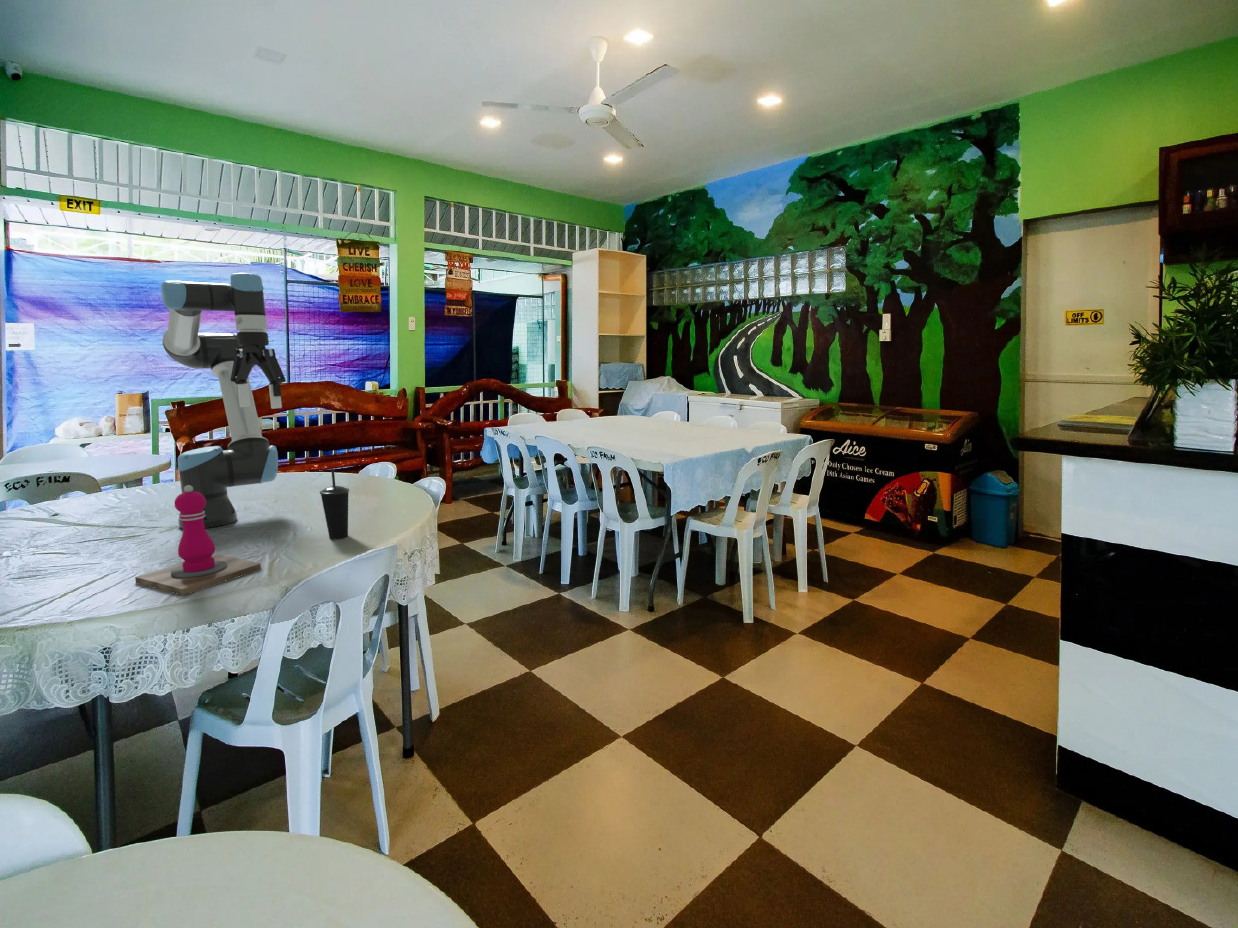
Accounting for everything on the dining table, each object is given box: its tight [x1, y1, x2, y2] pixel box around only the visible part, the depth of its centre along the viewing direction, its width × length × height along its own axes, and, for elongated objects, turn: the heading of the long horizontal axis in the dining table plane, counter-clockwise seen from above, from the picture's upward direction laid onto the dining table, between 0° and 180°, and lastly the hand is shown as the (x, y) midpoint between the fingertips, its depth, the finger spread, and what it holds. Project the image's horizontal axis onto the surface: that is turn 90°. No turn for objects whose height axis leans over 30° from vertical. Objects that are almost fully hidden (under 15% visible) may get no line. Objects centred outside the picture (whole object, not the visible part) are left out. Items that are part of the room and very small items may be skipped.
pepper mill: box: [174, 485, 216, 572], centre depth 143 cm, size 7×7×20 cm
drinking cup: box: [319, 467, 350, 540], centre depth 174 cm, size 8×8×20 cm
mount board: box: [134, 553, 262, 596], centre depth 145 cm, size 18×18×2 cm
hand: (260, 407), depth 175 cm, fingers open, 13 cm apart
